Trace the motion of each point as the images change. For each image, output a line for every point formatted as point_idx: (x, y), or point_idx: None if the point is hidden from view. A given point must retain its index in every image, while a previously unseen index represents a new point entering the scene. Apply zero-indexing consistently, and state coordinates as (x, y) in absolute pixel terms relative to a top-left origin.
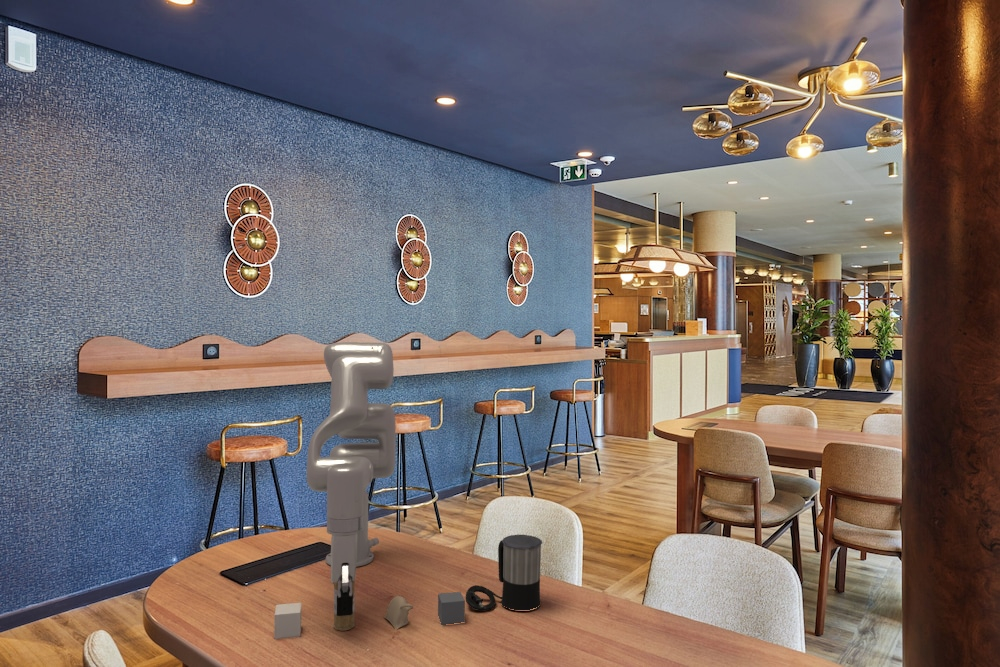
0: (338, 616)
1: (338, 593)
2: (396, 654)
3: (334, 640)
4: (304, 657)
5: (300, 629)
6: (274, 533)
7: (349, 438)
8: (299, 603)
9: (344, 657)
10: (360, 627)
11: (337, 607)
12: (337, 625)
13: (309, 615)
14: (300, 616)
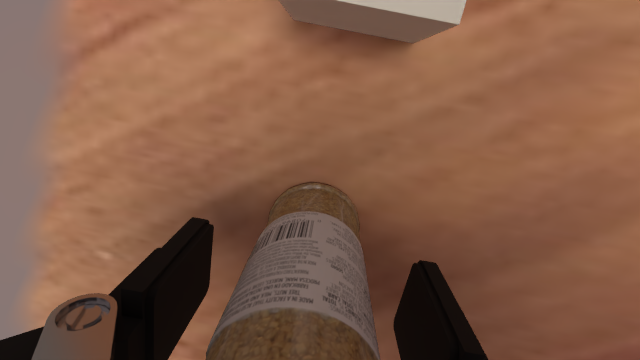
0: (272, 221)
1: (47, 325)
2: None
3: (204, 162)
4: (74, 9)
5: (334, 25)
6: None
7: None
8: (449, 6)
9: (53, 169)
10: None
11: (169, 243)
12: (283, 199)
13: (511, 103)
14: (318, 7)
